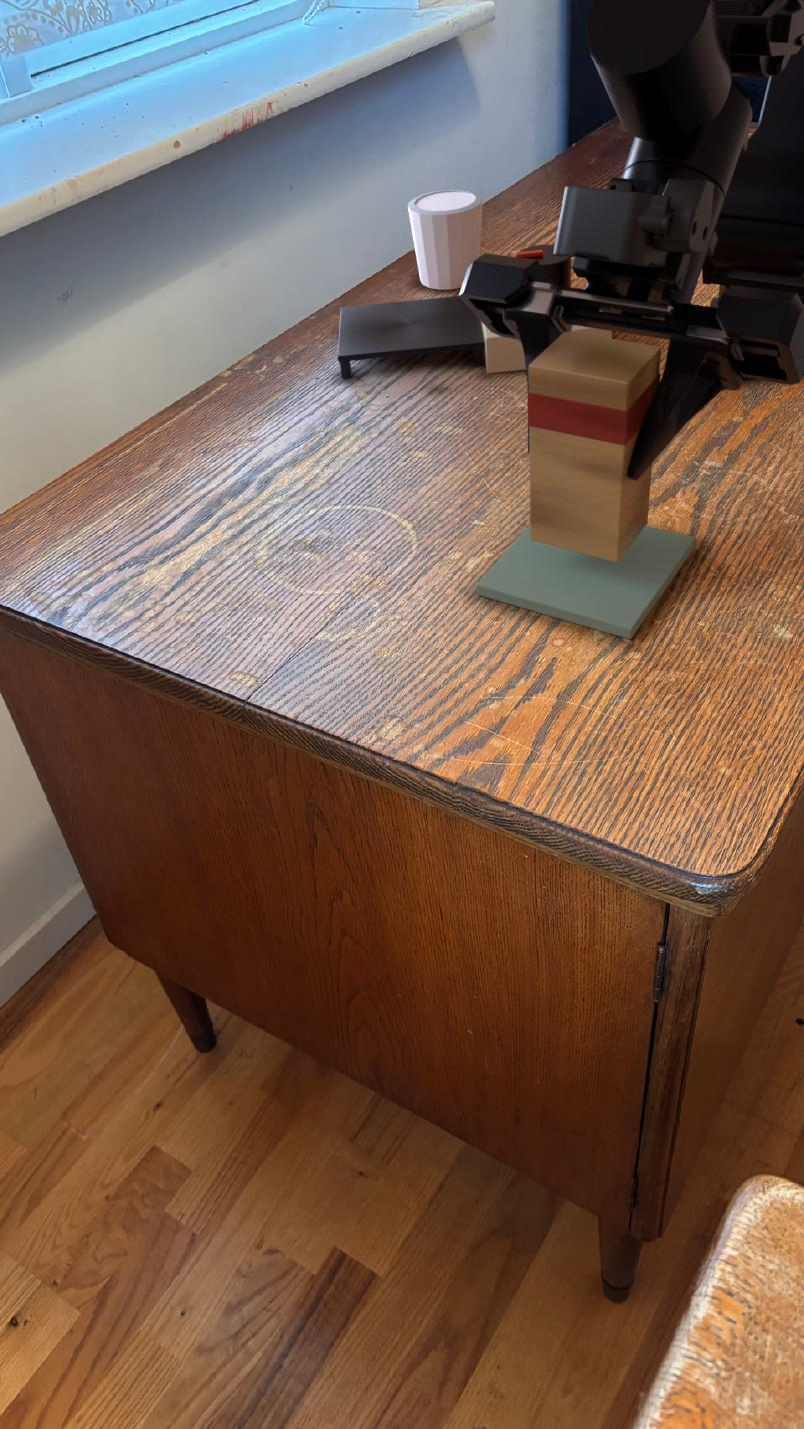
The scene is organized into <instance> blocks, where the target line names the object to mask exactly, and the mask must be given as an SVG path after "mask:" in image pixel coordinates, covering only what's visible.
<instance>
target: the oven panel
mask: <svg viewBox="0 0 804 1429" xmlns="http://www.w3.org/2000/svg"><path fill="white" fill-rule="evenodd" d="M585 288H586V287H583V288H582V289H585ZM599 311H600V310H599ZM602 312H603V311H602ZM481 324H482V329H483V335H484V341H485V348H484V364H485V368H486V373H487V374H496V373H497V374H498V373H506V372H519V371H526V364H525V357H524V351H523V347H522V343H521V342H520V341H519V340H518V339H512V338H506V337H501V336H499V335H497V334H495V333H492V332H490V330H489V329H488V328H487V327H486V326H485V325H484V324H483V323H482V322H481ZM571 332H572V333H578V334H584V335H590V336H596V337H603V338H609V339H613V331H609V330H602V329H596V328H589V327H583V326H577V325H573V326H572V329H571Z"/></svg>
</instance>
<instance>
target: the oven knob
mask: <svg viewBox="0 0 804 1429" xmlns="http://www.w3.org/2000/svg"><path fill="white" fill-rule="evenodd" d="M554 247H555V244H537V245H532V246H528V247H525V248H522V249H520V250H519V251H516V252H515V256H514V257H518V258H526V259H534V260H538V262H539V263H540V265H541V266H542V267H543V269H544V270H545V272H546V273H547V275H548V276H549V277H550V279H551V280H552V282H553V283H554V285H557V286H565V287H572V268H571V267H572V258H573V257H568V256H562V257H559V256H555V255H554V254H553V252H554Z"/></svg>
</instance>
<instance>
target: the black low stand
mask: <svg viewBox="0 0 804 1429" xmlns="http://www.w3.org/2000/svg"><path fill="white" fill-rule="evenodd" d="M337 346H338V348H337V361H338V363H339V367H340V374H341V379H352V375H353V372H352V365H351V362H353V361H363V360H373V359H383V358H395V357H405V356H415V355H416V356H417V355H424V354H425V355H427V354H435V353H436V354H437V353H447V352H448V353H449V352H457V351H458V352H459V351H467V350H473V364H474V367H479V366H485V357H484V348H485V341H484V335H483V329H482V324H481V320H480V319H479V318H478V317H477V316H476V315H475V314H474V313H473V312H472V311H471V309H470V308H469V307H468V306H467V305H466V304H465V303H464V302H463V301H462V300H461V298H460V297H459V295H454V296H453V295H452V296H444V297H433V298H425V299H422V298H421V299H415V300H406V301H405V300H404V301H394V302H393V301H392V302H383V303H372V304H363V305H352V306H344V307H342V306H341V307H340V315H339V329H338V345H337Z"/></svg>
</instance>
